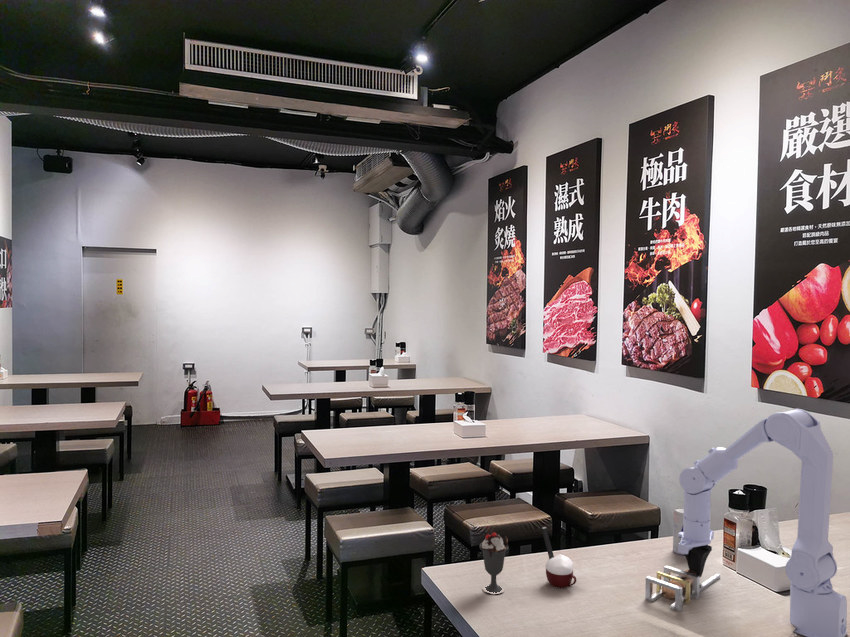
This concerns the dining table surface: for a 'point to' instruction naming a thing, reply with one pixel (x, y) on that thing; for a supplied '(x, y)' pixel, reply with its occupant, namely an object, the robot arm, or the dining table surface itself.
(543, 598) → the dining table surface
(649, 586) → the white wire rack
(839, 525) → the dining table surface
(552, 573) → the cocoa
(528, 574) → the dining table surface
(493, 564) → the sundae
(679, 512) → the energy drink
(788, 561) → the robot arm
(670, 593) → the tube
